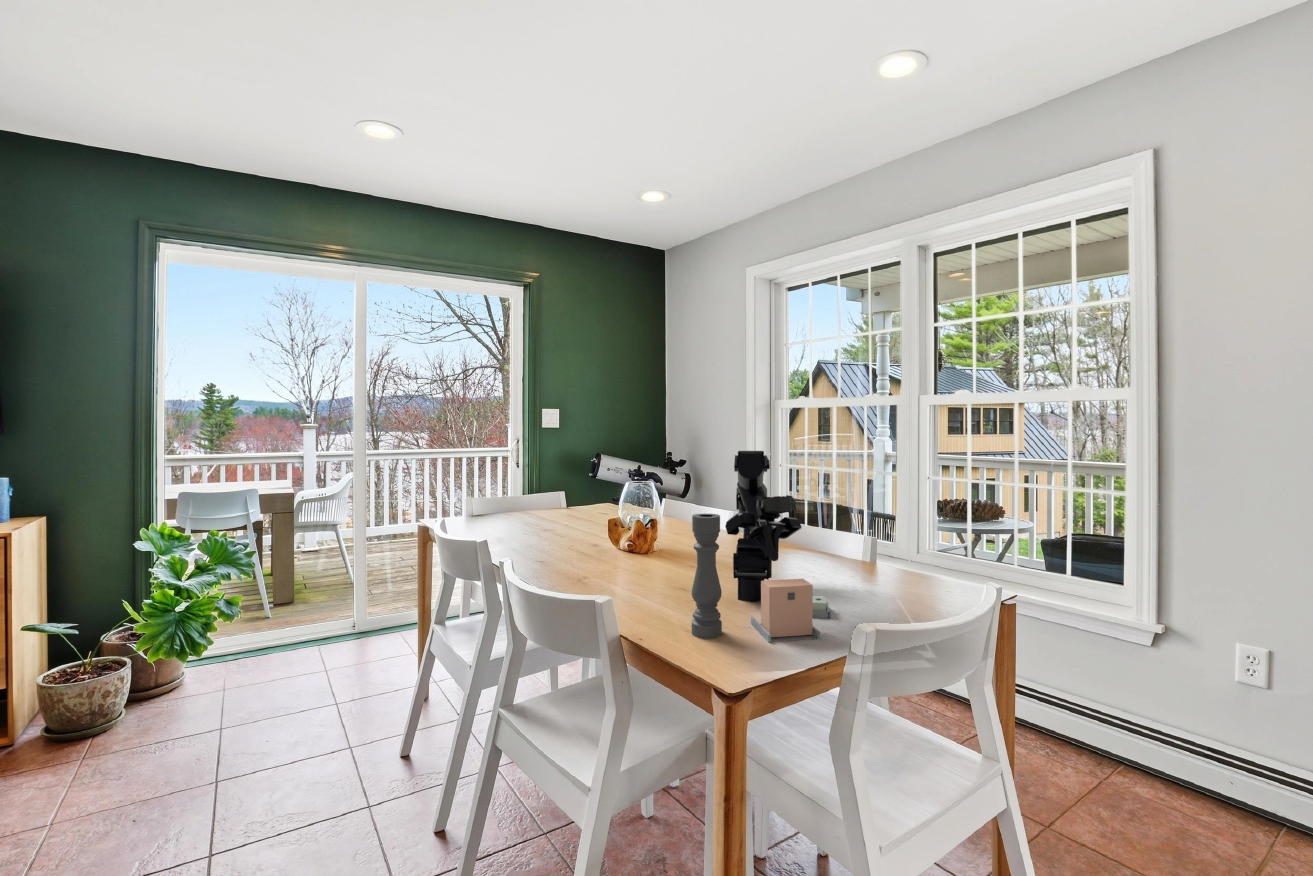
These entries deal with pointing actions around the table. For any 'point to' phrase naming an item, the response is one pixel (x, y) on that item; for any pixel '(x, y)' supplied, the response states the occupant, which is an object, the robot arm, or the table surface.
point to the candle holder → (706, 577)
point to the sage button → (819, 603)
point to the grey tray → (786, 638)
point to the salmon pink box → (787, 607)
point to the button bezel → (823, 613)
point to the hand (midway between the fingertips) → (775, 560)
